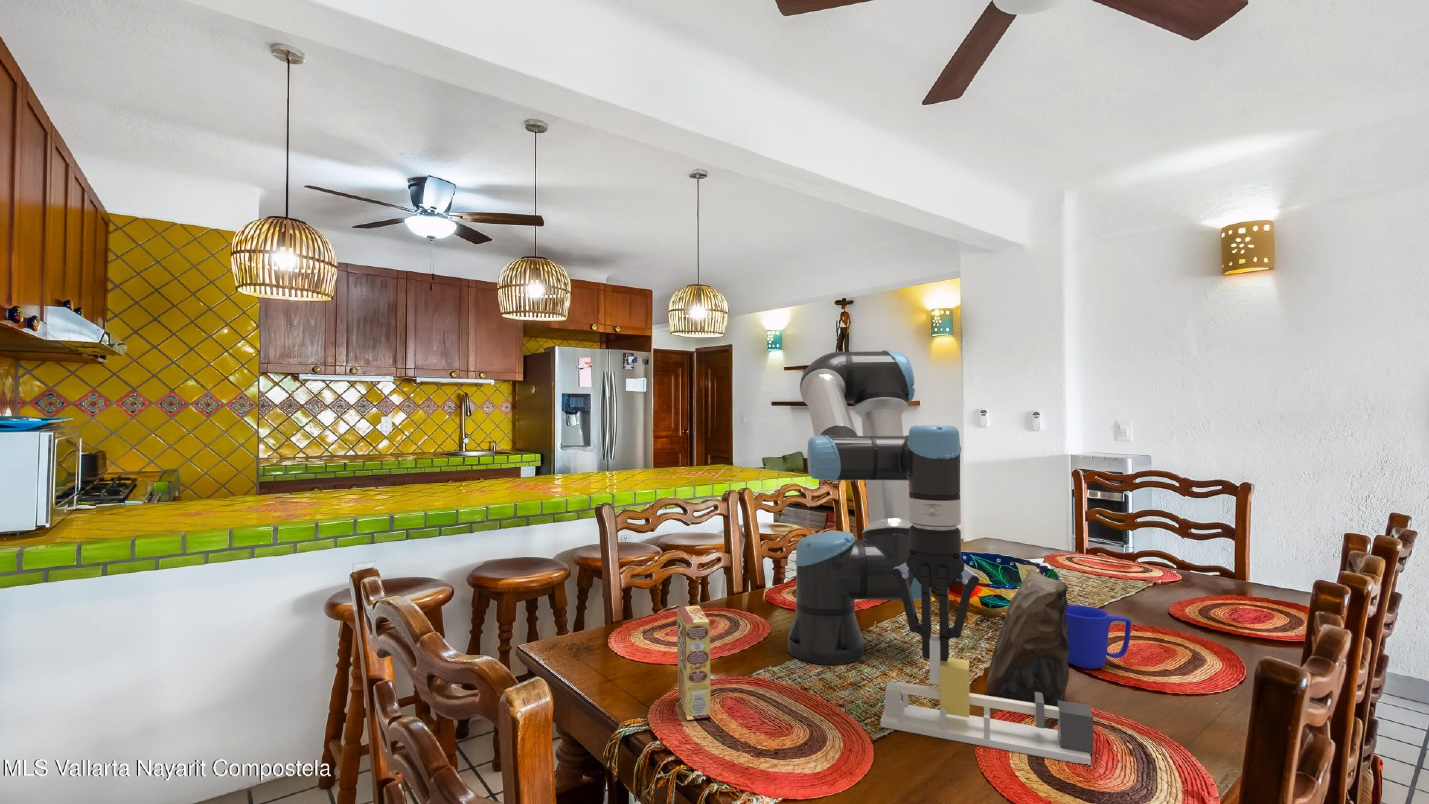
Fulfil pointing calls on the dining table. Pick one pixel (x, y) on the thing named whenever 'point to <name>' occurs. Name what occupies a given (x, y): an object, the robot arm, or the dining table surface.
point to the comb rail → (996, 723)
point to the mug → (1092, 636)
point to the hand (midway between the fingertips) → (935, 680)
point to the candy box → (693, 660)
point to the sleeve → (955, 687)
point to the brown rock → (1033, 644)
